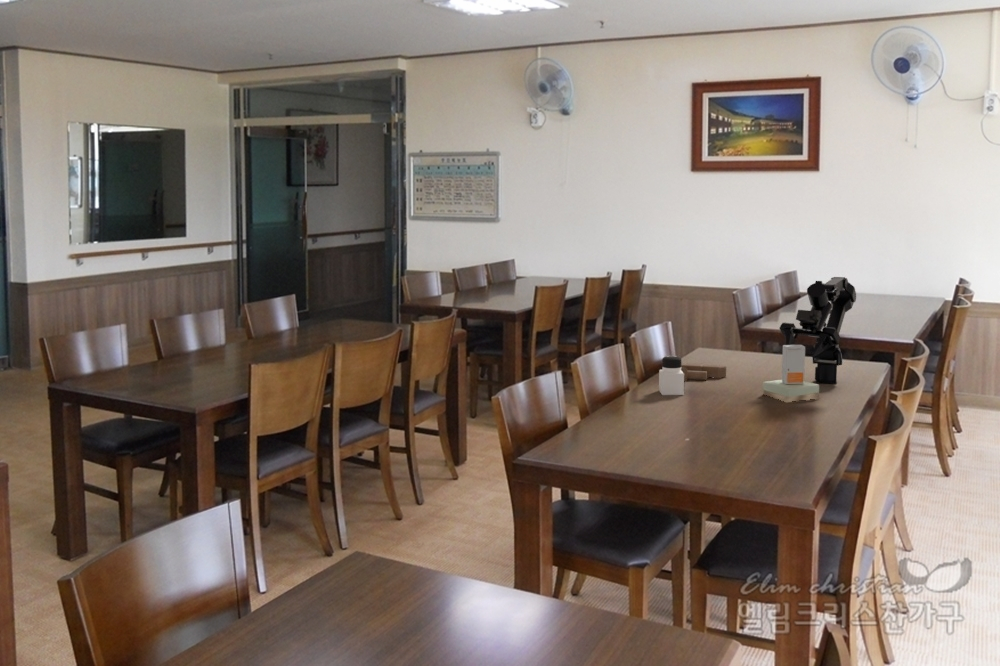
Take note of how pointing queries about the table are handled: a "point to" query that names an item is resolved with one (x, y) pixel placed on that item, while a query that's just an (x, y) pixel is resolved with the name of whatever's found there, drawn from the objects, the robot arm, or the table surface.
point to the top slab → (790, 388)
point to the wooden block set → (702, 371)
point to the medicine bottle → (671, 376)
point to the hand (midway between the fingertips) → (799, 354)
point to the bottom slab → (793, 398)
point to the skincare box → (793, 364)
